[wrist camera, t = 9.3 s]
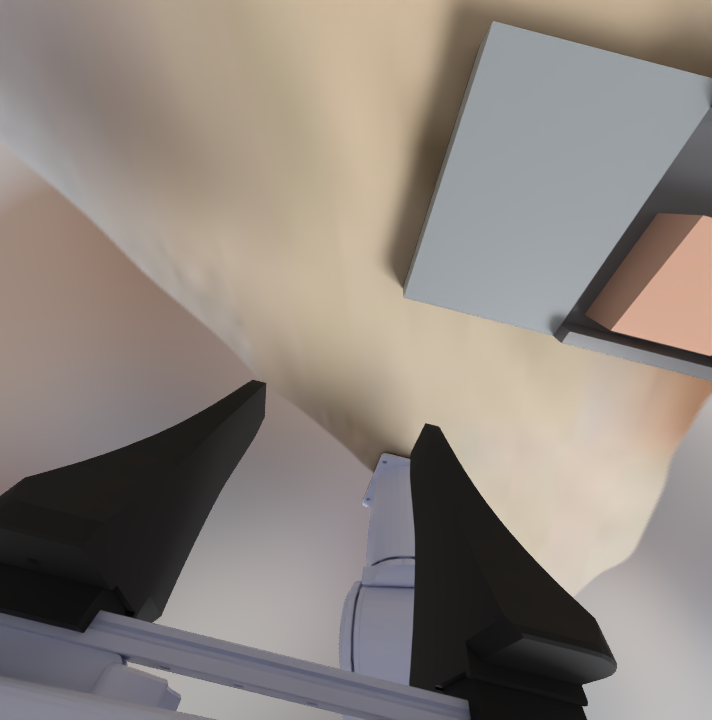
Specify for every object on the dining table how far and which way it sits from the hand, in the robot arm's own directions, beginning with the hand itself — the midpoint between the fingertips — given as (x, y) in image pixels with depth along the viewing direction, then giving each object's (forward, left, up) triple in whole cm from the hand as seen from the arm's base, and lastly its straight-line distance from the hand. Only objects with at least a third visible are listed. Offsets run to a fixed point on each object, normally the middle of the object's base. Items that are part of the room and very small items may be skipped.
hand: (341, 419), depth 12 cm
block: (+8, -17, -10) cm, 21 cm away
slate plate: (+10, -7, -10) cm, 16 cm away
